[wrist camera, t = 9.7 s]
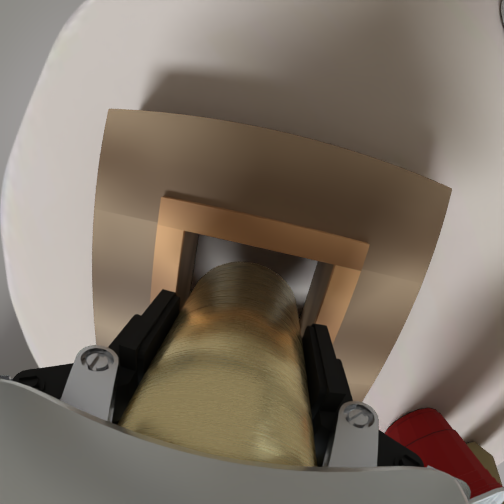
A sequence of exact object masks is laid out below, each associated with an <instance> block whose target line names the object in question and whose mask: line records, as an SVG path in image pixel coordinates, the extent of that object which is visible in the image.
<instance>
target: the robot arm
mask: <svg viewBox="0 0 504 504" xmlns="http://www.w3.org/2000/svg"><path fill="white" fill-rule="evenodd" d="M501 13H502V19H503V24H504V0H502V2H501ZM179 308H180V297H177V295H176V292H172V291H168V290H164V289H162V290H161V292H160V293H159V294H158V295H157V297H156V298H155V299H154V300H153V301H152V303H151V304H150V305H149V307H148V308H147V309H146V310H145V312H144V313H143V314H142V315H138V314H135V315H134V316H133V317H132V318H131V319H130V321H129V322H128V323H127V324H126V326H125V327H124V328H123V329H122V330H121V332H120V333H119V334H118V335H117V337H116V338H115V339H114V340H113V342H112V343H111V344H110V345H109V347H105V346H101V345H93V346H88V347H85V348H83V349H82V350H80V351H79V353H78V354H77V356H76V359H75V361H74V363H72V364H66V365H59V366H52V367H45V368H38V369H30V370H25V371H22V372H20V373H18V374H17V375H16V376H15V377H14V378H13V379H11V378H10V376H9V375H8V376H7V375H6V376H5V375H4V376H3V375H0V504H469V500H470V496H471V491H470V488H469V486H468V485H467V483H465V482H464V481H462V480H460V479H458V478H455V477H453V476H451V475H449V474H447V473H445V472H442V471H439V470H437V469H435V468H433V467H431V466H429V465H428V466H427V467H424V464H423V461H422V459H421V458H420V457H419V456H418V455H417V454H416V453H414V452H413V451H411V450H409V449H408V448H406V447H405V446H403V445H401V444H400V443H398V442H397V441H395V440H394V439H392V438H391V437H389V436H388V435H386V434H384V433H383V432H381V431H380V430H379V419H378V415H377V413H376V412H375V410H374V409H373V408H372V407H370V406H369V405H367V404H365V403H362V402H359V401H353V399H352V395H351V392H350V388H349V385H348V381H347V378H346V375H345V371H344V368H343V364H342V361H341V360H340V359H337V358H336V355H335V351H334V348H333V344H332V341H331V338H330V334H329V331H328V328H327V326H326V325H321V324H315V323H313V324H312V325H311V326H307V327H306V329H305V332H304V335H303V338H302V345H303V352H304V360H305V367H306V374H307V382H308V390H309V398H310V406H311V415H312V423H313V432H314V441H315V451H316V461H317V467H310V466H295V465H283V464H274V463H265V462H258V461H248V460H240V459H234V458H228V457H222V456H217V455H213V454H208V453H204V452H200V451H197V450H193V449H190V448H186V447H183V446H179V445H176V444H172V443H169V442H165V441H162V440H159V439H155V438H152V437H149V436H146V435H143V434H140V433H137V432H134V431H132V430H129V429H126V428H124V427H121V426H118V425H117V424H118V422H119V420H120V419H121V417H122V415H123V413H124V411H125V409H126V407H127V406H128V404H129V402H130V400H131V398H132V396H133V394H134V393H135V391H136V389H137V387H138V385H139V384H140V382H141V380H142V378H143V376H144V374H145V373H146V371H147V369H148V367H149V366H150V364H151V362H152V360H153V358H154V357H155V355H156V353H157V351H158V350H159V348H160V346H161V344H162V342H163V341H164V339H165V337H166V335H167V334H168V332H169V330H170V329H171V327H172V325H173V323H174V322H175V320H176V318H177V316H178V315H179Z"/></svg>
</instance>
